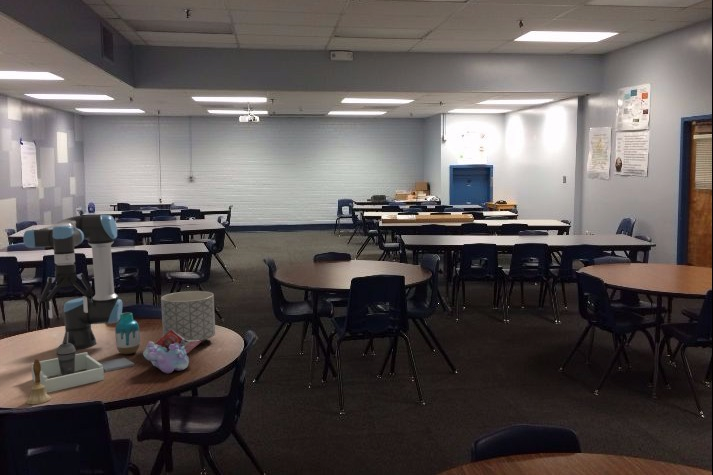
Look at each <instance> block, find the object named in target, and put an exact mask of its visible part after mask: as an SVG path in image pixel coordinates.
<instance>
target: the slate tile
mask: <svg viewBox="0 0 713 475" xmlns="http://www.w3.org/2000/svg"><path fill="white" fill-rule="evenodd" d="M99 363H100V364H102V367H103V370H104V372H113V371H117V370H121V369H124V368H125V369H126V368H130V367H134V366H135V363H134V362H132V361H131V360H129V359H128V358H126V357H119V358H115V359H109V360H106V361H101V362H99Z"/></svg>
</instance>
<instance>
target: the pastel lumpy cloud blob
mask: <svg viewBox="0 0 713 475" xmlns="http://www.w3.org/2000/svg"><path fill="white" fill-rule="evenodd" d="M200 342H202V341H199V340H186V341H185V339H184V338H183V337H181V336H180V335H178V334H177V333H176V332H174V331H172V330H170V331H169V332H168V333H167V334H166V335H165V336H164V337H163V336H162V337H161V338H160V339H159V340H158V341H157V342H156V343H155V342H153V341H152V340H151V341H148V344H147V345H145V349H144V350H143V352H142V355H143V356H144V358H145V359H146V360H147V361H150V362H151V364H152V365H153V366H154V367H156V368H158V369H159V370H160V371H161V372H163V373H165V374H167V375H169V374H172V373H173V371H179V372H180V371H184V370H185V369H186V368H188V366H189V363H190V358H189V356H188V355H187V354H188V353H190V352H191V351H192V350H193V349H194V348H196V347H197V346H198V345H200V344H201V343H200ZM199 343H200V344H199ZM202 343H203V342H202Z"/></svg>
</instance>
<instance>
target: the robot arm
mask: <svg viewBox="0 0 713 475" xmlns="http://www.w3.org/2000/svg"><path fill="white" fill-rule="evenodd" d="M117 227H118V226H117V224H116V220H115V218H114V217H113V216H112V215H108V214H94V215H93V214H92V215H89V214H88V215H75V216H70V217H68V218H67V217H66V218H65V219H61V220H59V221H58V222H57V223H56V224H52V225H49V226H47V227H46V226H45V227H43V228H39V229H27V230H25V231H24V232H23V238H22V239H23V240H22V241H23V244H24V246H25V247H27V248H31V249H37V248H53V257H54V258H53V259H54V264H55V265H54V273H55V277H49V276H48V277H47V278H46V283H45V286H44V288H43V290H42V292H41V295H40V296H39V301H40V302H44V307H45V310H46V311H48V318H49V319H53V317H54V316H53V305H52V303H53V302H52V301H51V300H52V299H53V297H54V296H55V294H56V293H58V291H59V290H60V289H61V288H65V287H72V286H74V287H75V288H76V289H77V290H78V291H79V292H80V293H81V294H83V295H84V296H82V297H79V298H74V299H70V300H68V301H66V302H65V303H64V305H63V317H64V318H63V319H64V328H65V329H64V332H65V333H64V336H63V340H62V342H61V344H63V343H67V332H69V333H68V343H71V344H72V345H73V346H74V347H75V350H82V349H87V348H91V347H93V346H95V345H96V344H97V339H96V336H95V334H94V332H93V330H92V325H105V324H106V325H107V324H109V325H110V324H117V323H118V322H120V314H122V313H123V300H122V299H120V298H119V295H118V294H117V293H115V286H114V285H115V284H114V272H113V270H114V269H113V258H112V245H113V244H114V242H115V239H116V238H117V237H118V228H117ZM84 240H87V244H88V245H89V246H90V247H91V253H92V266H93V277H94V278H93V279H94V290H95V292H94V291H93V289H92V287H91V286H90V284H89V282H88V281H87V279H86V277H85V274H84V273H82V272H81V273H79V274H77V269H76V268H77V267H76V264H75V263H76V255H75V254H76V253H75V247H77V246H79V245H81V244H82V243H83V241H84ZM77 279H79V280H80V281H81V282H82V284H83V286H84V287H85V289H86V290H87V291H86V290H85V289H84V288H83V287H82V286H81V285H80V284H79V283H78V282H77ZM54 281H55V282H56V284H55V285H54V287H52V289H51V291H50V288H51V286H52V284H53V283H54ZM49 291H50V292H49ZM48 293H49V294H48ZM92 295H94V296H92ZM91 296H92V300H90V297H91Z"/></svg>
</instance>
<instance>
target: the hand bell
mask: <svg viewBox="0 0 713 475" xmlns="http://www.w3.org/2000/svg"><path fill="white" fill-rule="evenodd" d="M33 363H34V364H33V371H34V374H35V382H34V385H33V386H32V387H31V390H30V395H29V397H28V399H27V400H26V403H25V404H28V405H41V404H45V403H47V402H49V401H51V400H52V397H51V395H49V394H48V393H46V390H45V386H44V385H41V384H40V372H41V364H40V359H39V358H35V359H34V362H33Z"/></svg>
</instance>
